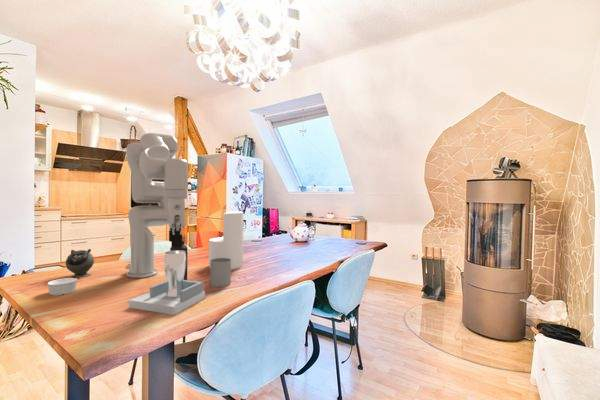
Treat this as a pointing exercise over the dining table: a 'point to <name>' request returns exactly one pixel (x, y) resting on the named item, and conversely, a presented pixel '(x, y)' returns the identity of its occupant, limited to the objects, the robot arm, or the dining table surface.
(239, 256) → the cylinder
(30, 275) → the dining table surface
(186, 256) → the bottle
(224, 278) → the cup
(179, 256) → the beer glass
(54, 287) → the ramekin
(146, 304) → the dock
